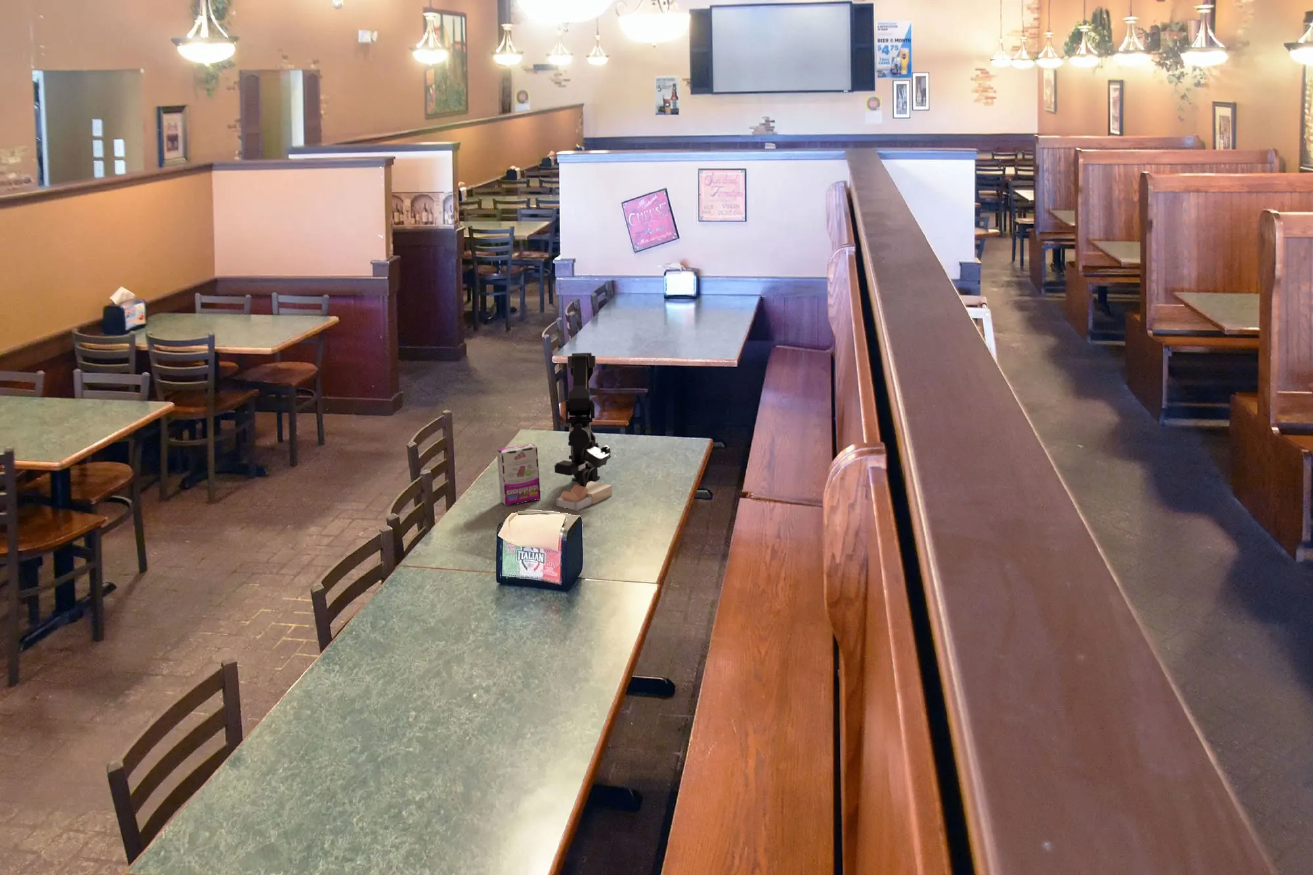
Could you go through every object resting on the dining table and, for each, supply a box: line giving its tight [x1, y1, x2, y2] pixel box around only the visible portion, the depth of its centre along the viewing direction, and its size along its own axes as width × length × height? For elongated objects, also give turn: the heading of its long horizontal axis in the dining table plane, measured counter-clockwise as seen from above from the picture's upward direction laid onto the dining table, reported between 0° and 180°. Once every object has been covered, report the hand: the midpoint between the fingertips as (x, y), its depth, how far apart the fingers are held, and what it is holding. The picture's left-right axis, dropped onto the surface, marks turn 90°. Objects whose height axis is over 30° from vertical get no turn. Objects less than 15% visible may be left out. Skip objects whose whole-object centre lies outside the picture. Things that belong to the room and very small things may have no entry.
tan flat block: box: [570, 481, 613, 505], centre depth 338 cm, size 8×9×3 cm
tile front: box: [560, 490, 580, 502], centre depth 330 cm, size 4×4×2 cm
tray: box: [555, 496, 593, 512], centre depth 332 cm, size 8×7×2 cm
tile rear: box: [570, 484, 588, 500], centre depth 333 cm, size 4×4×2 cm
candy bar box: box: [496, 443, 542, 507], centre depth 334 cm, size 11×5×16 cm, turn 117°
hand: (583, 489), depth 334 cm, fingers closed
